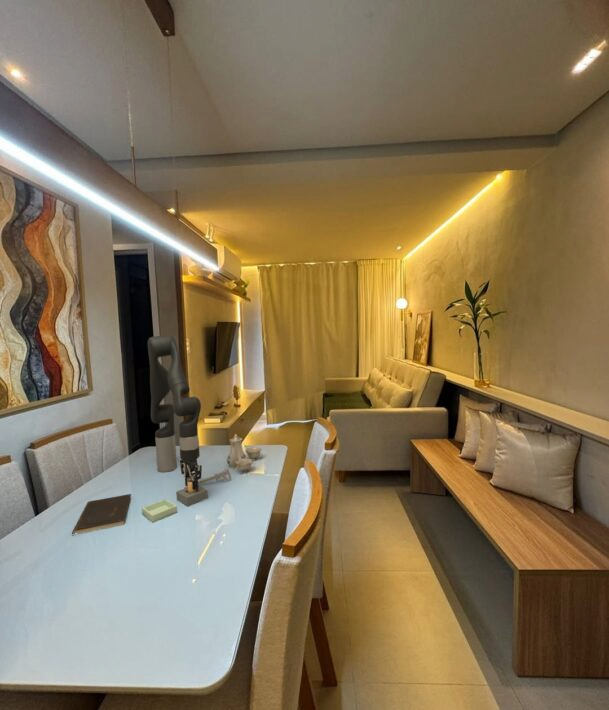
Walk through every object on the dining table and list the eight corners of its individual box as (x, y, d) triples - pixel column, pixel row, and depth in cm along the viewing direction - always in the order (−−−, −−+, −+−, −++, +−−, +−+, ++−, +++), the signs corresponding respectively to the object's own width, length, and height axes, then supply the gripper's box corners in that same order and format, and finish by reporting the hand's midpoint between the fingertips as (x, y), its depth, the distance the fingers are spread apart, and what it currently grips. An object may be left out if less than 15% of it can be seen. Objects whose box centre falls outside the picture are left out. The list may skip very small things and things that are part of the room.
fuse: (186, 499, 141) (185, 477, 140) (194, 496, 143) (192, 475, 143) (190, 501, 138) (189, 479, 138) (198, 498, 141) (197, 477, 140)
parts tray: (142, 514, 130) (141, 507, 129) (166, 505, 136) (165, 499, 136) (152, 522, 123) (152, 515, 123) (177, 512, 130) (176, 506, 130)
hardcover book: (131, 499, 144) (131, 493, 144) (124, 526, 123) (124, 519, 123) (87, 507, 138) (86, 501, 138) (72, 537, 117) (71, 530, 117)
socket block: (176, 499, 140) (176, 491, 140) (196, 492, 147) (196, 484, 147) (187, 506, 134) (187, 497, 134) (208, 498, 141) (207, 489, 141)
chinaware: (253, 478, 163) (255, 444, 162) (218, 476, 163) (220, 442, 162) (262, 458, 191) (263, 428, 190) (232, 456, 191) (233, 426, 190)
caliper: (230, 480, 159) (230, 467, 159) (231, 481, 158) (230, 467, 158) (183, 488, 152) (183, 474, 152) (184, 489, 151) (183, 475, 151)
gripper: (172, 445, 142) (174, 485, 143) (189, 452, 132) (192, 495, 133) (189, 441, 147) (191, 480, 148) (207, 447, 137) (209, 488, 138)
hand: (191, 487), depth 140 cm, fingers open, 5 cm apart
